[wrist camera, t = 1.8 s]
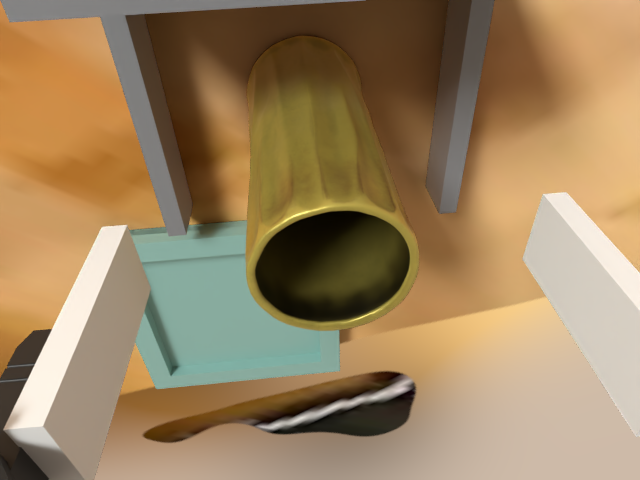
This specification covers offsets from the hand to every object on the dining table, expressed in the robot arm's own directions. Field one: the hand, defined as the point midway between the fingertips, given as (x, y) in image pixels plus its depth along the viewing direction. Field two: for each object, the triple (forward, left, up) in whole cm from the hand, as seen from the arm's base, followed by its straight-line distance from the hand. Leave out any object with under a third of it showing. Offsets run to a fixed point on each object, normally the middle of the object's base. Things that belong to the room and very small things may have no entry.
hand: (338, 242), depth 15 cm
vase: (0, 0, -13) cm, 13 cm away
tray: (-6, -15, -13) cm, 21 cm away
